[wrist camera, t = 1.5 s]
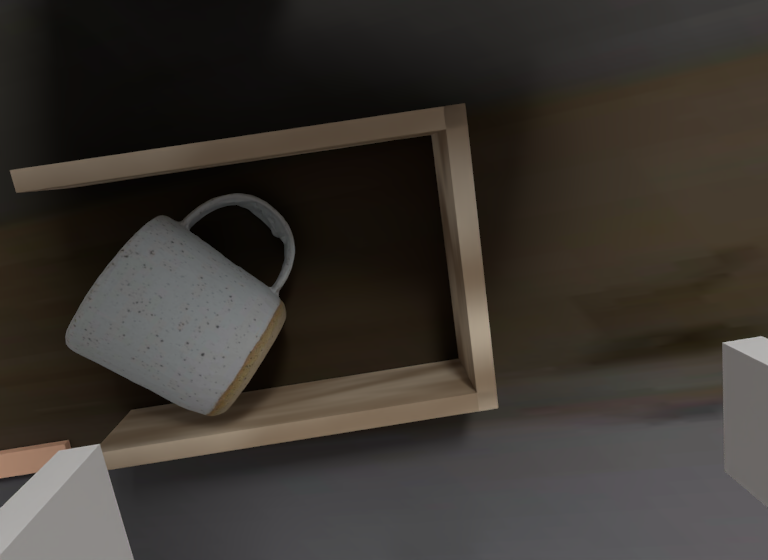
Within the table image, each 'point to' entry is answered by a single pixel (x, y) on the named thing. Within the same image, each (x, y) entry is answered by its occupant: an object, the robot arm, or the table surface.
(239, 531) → the table surface
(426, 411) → the frame
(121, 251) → the ceramic mug
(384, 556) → the table surface
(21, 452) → the terracotta bay
